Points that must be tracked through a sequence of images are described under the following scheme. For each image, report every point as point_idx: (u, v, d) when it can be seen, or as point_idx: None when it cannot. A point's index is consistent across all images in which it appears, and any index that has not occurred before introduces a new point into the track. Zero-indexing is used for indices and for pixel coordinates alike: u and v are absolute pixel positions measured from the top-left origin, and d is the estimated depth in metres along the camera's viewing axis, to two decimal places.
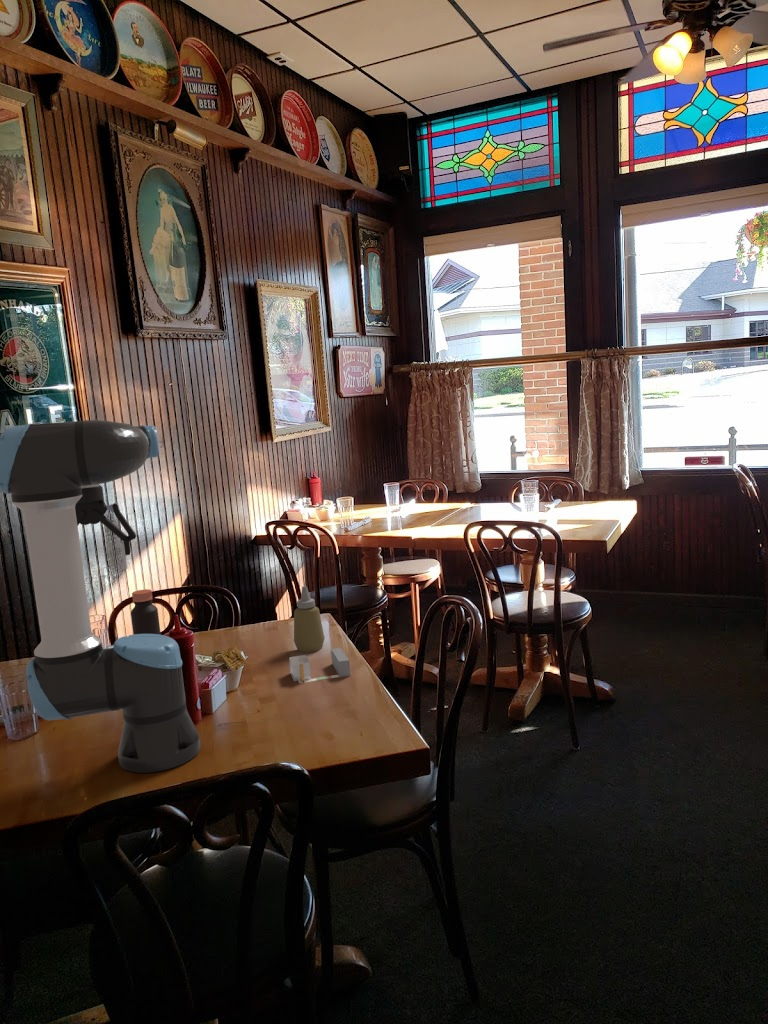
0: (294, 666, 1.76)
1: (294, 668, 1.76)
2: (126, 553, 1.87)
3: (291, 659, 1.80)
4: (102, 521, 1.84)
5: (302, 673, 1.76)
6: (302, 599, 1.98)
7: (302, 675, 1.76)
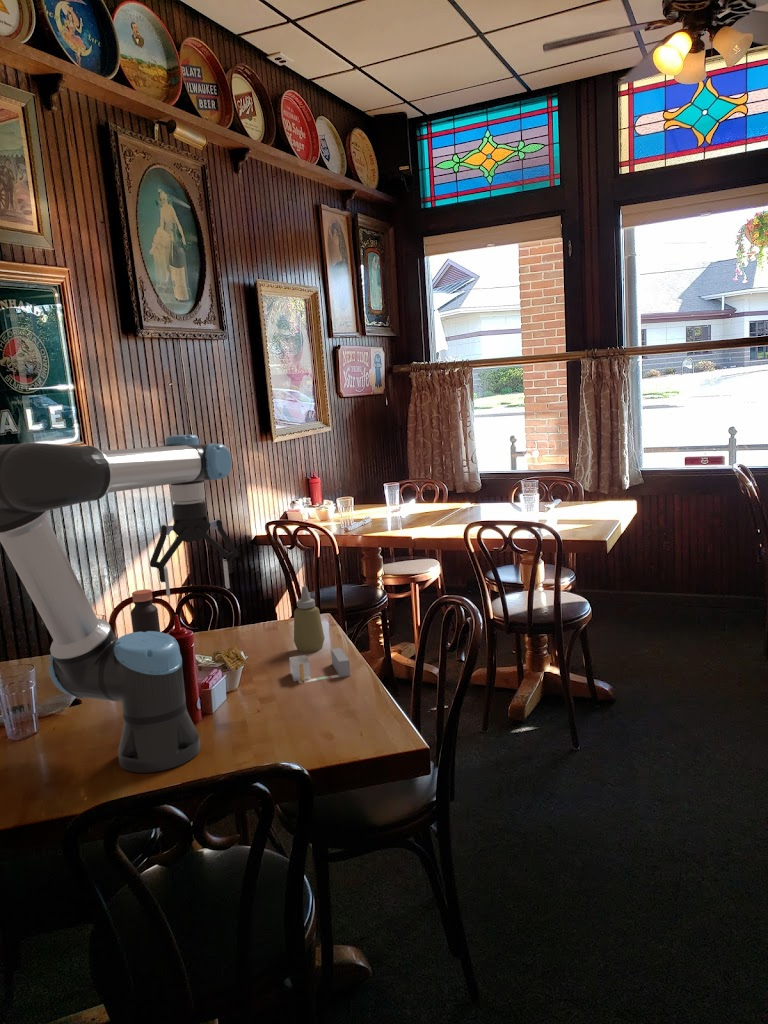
0: (294, 666, 1.76)
1: (294, 668, 1.76)
2: (229, 571, 1.80)
3: (291, 659, 1.80)
4: (206, 538, 1.76)
5: (302, 673, 1.76)
6: (302, 599, 1.98)
7: (302, 675, 1.76)
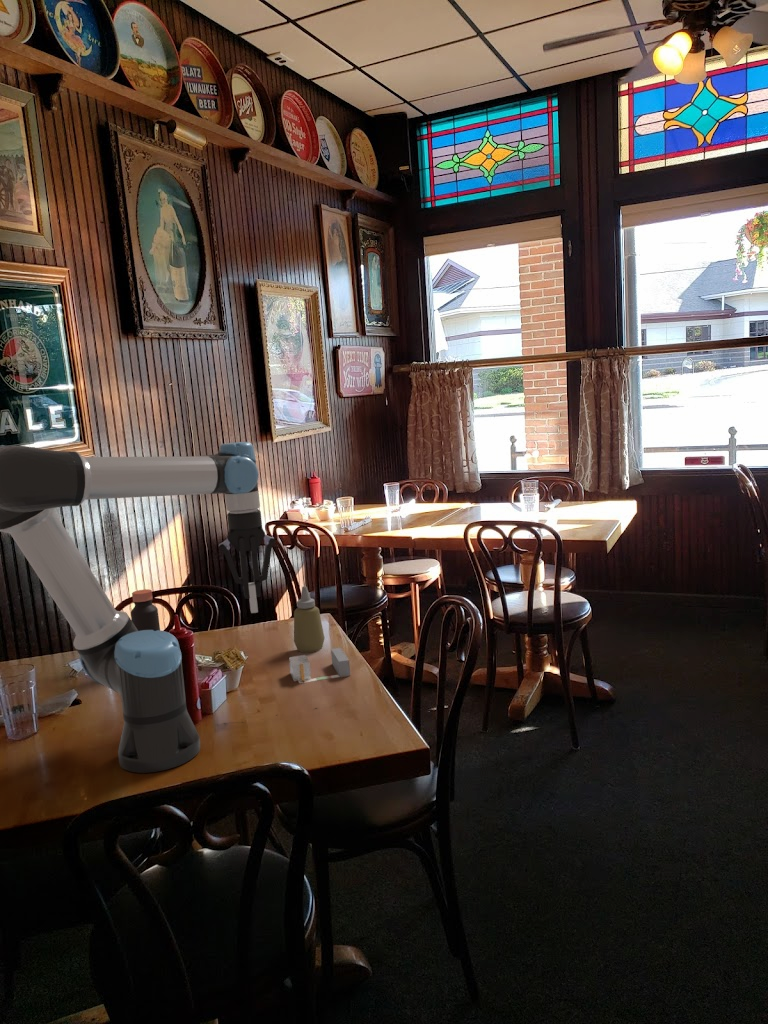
0: (294, 666, 1.76)
1: (294, 668, 1.76)
2: (257, 595, 1.75)
3: (291, 659, 1.80)
4: (253, 551, 1.72)
5: (302, 673, 1.76)
6: (302, 599, 1.98)
7: (302, 675, 1.76)
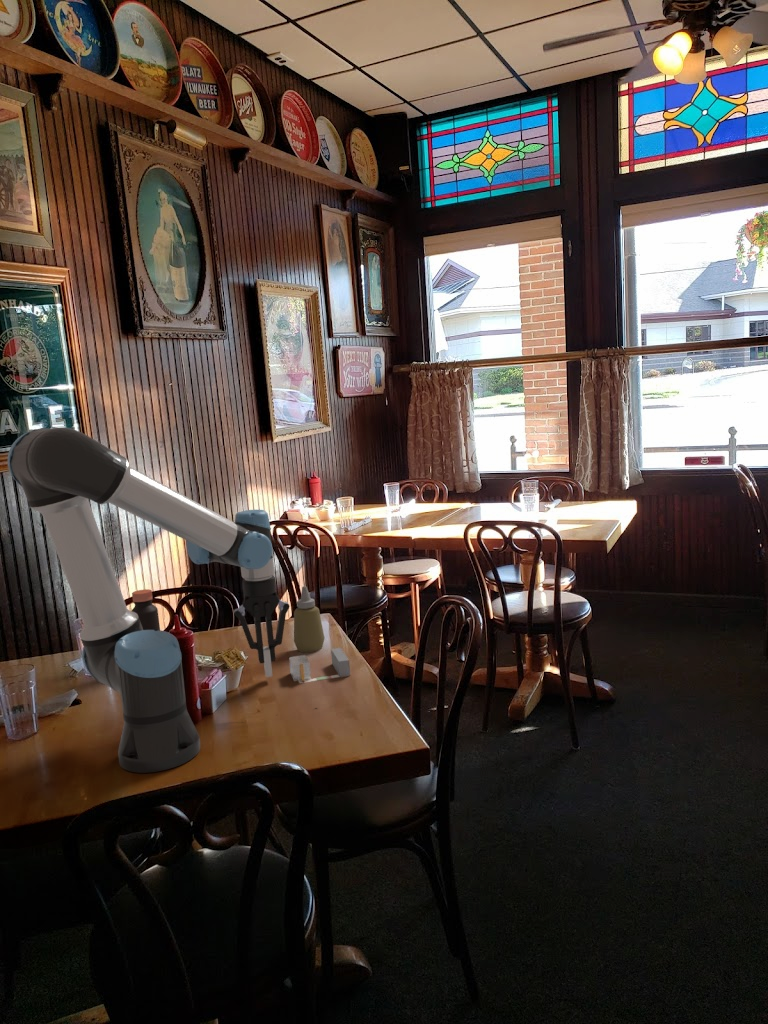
0: (294, 666, 1.76)
1: (294, 668, 1.76)
2: (271, 659, 1.77)
3: (291, 659, 1.80)
4: (267, 617, 1.75)
5: (302, 673, 1.76)
6: (302, 599, 1.98)
7: (302, 675, 1.76)
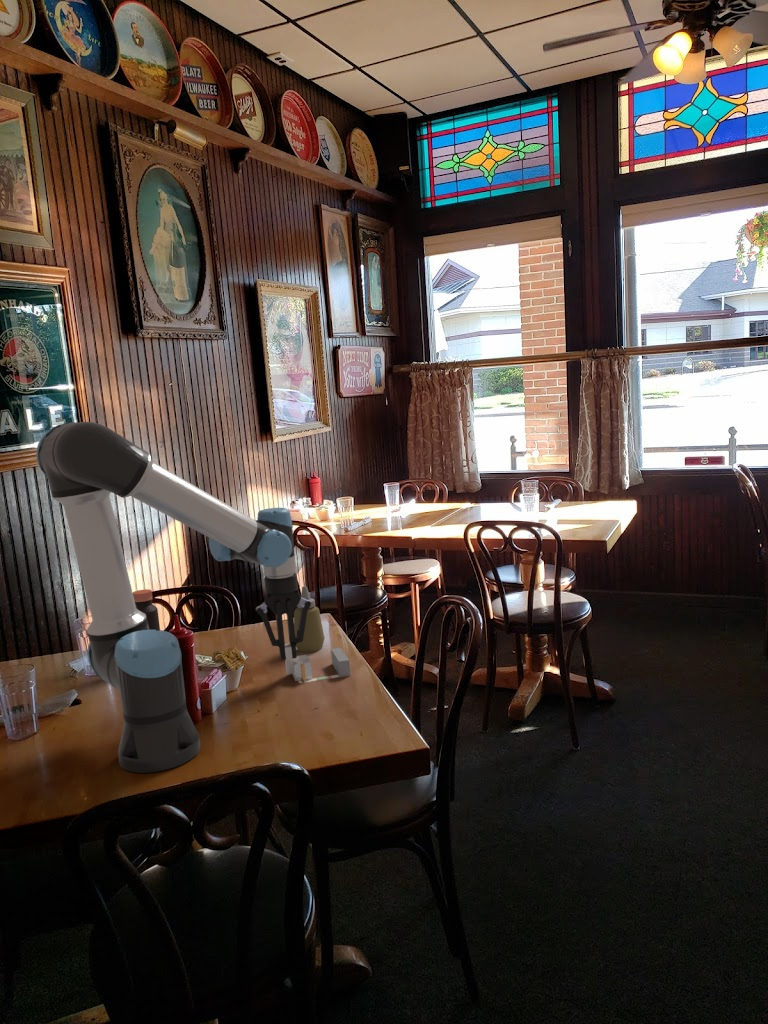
0: (295, 666, 1.76)
1: (295, 668, 1.77)
2: (293, 656, 1.79)
3: None
4: (289, 614, 1.76)
5: (303, 673, 1.76)
6: None
7: (303, 675, 1.76)
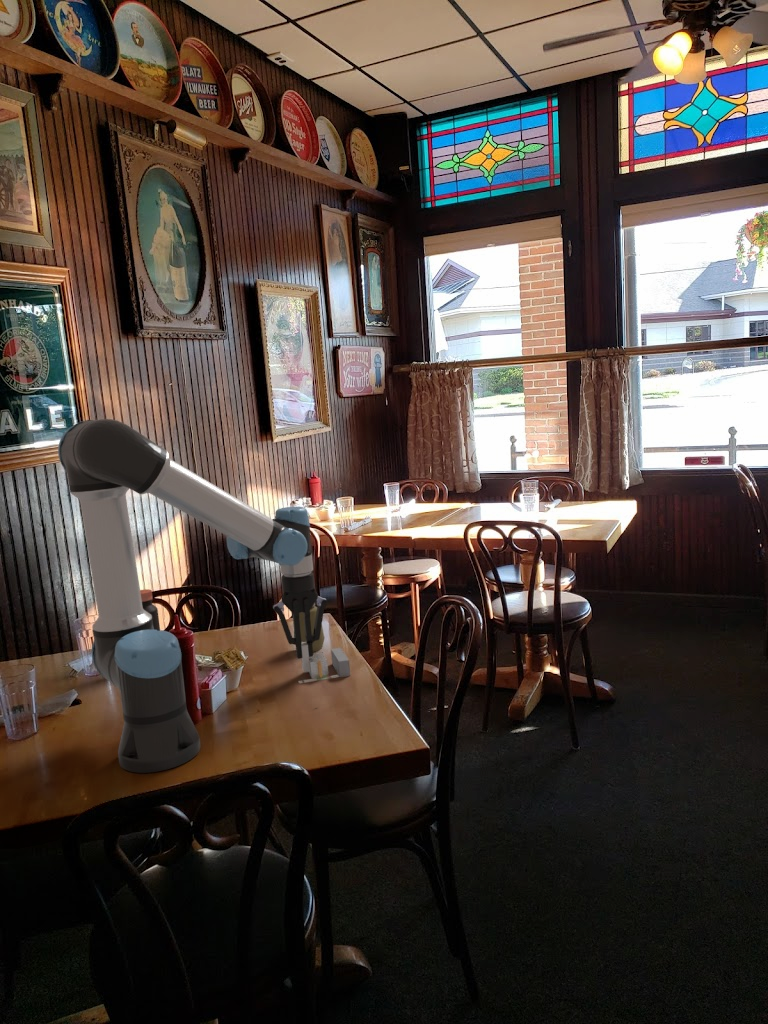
0: (312, 663, 1.77)
1: (312, 665, 1.77)
2: (309, 655, 1.79)
3: None
4: (306, 613, 1.77)
5: (320, 670, 1.77)
6: None
7: (320, 672, 1.77)
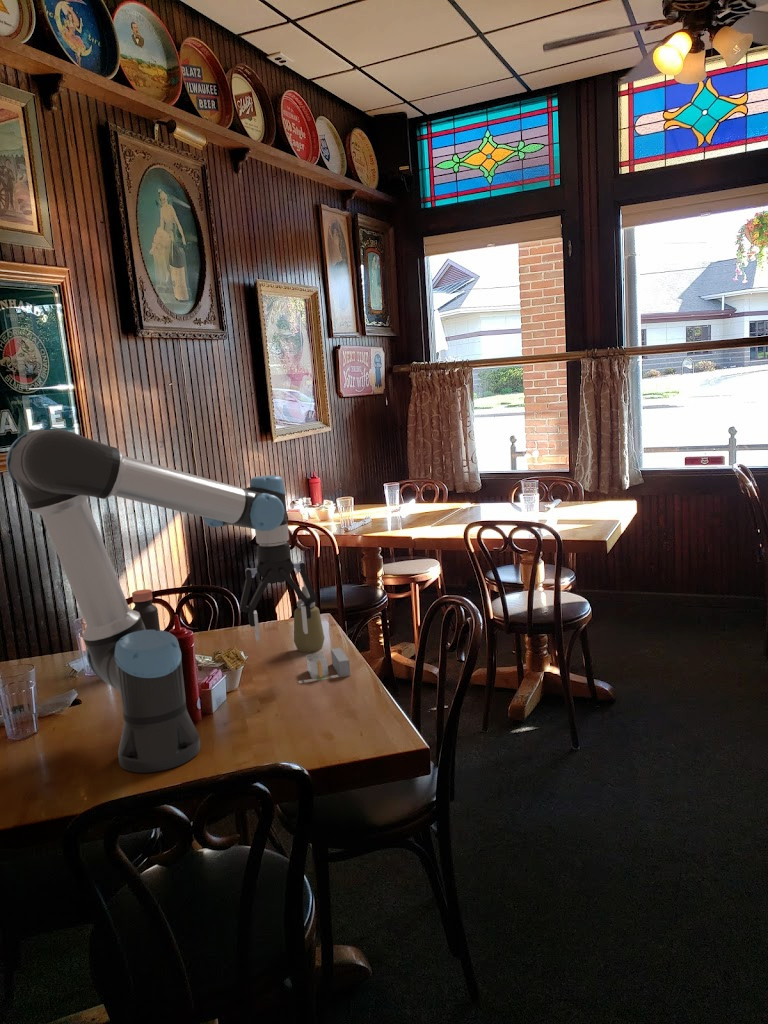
0: (312, 663, 1.77)
1: (312, 665, 1.77)
2: (307, 616, 1.78)
3: (308, 656, 1.81)
4: (288, 581, 1.75)
5: (320, 670, 1.77)
6: None
7: (320, 672, 1.77)
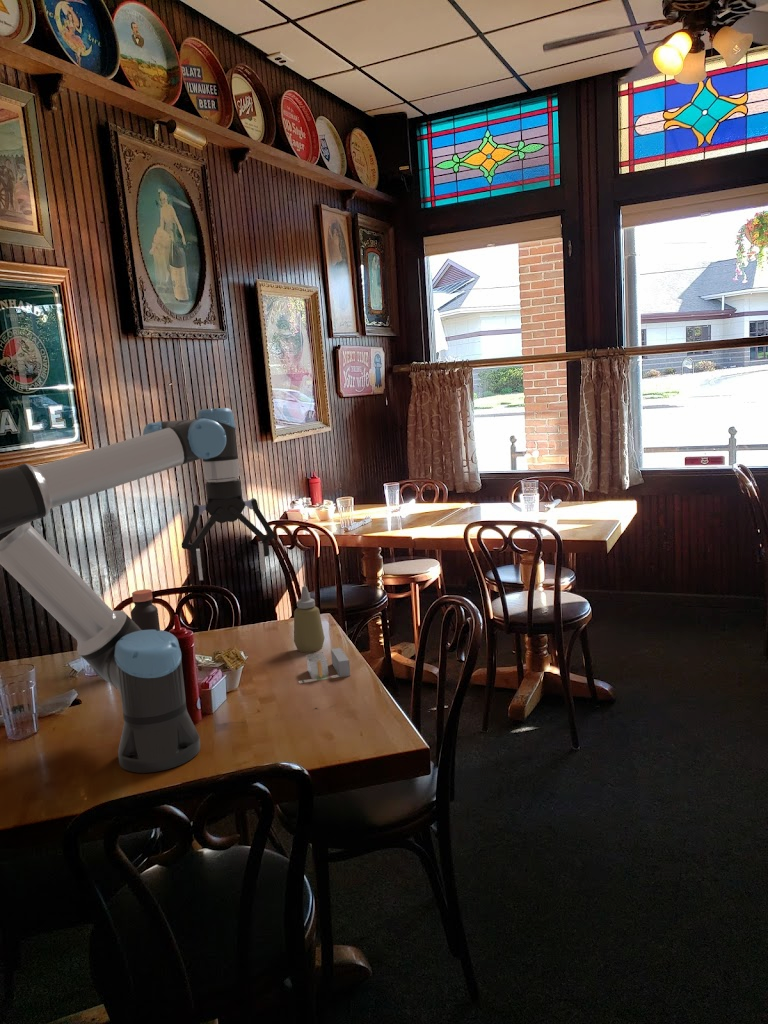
0: (312, 663, 1.77)
1: (312, 665, 1.77)
2: (265, 554, 1.69)
3: (308, 656, 1.81)
4: (241, 519, 1.66)
5: (320, 670, 1.77)
6: (302, 599, 1.98)
7: (320, 672, 1.77)
